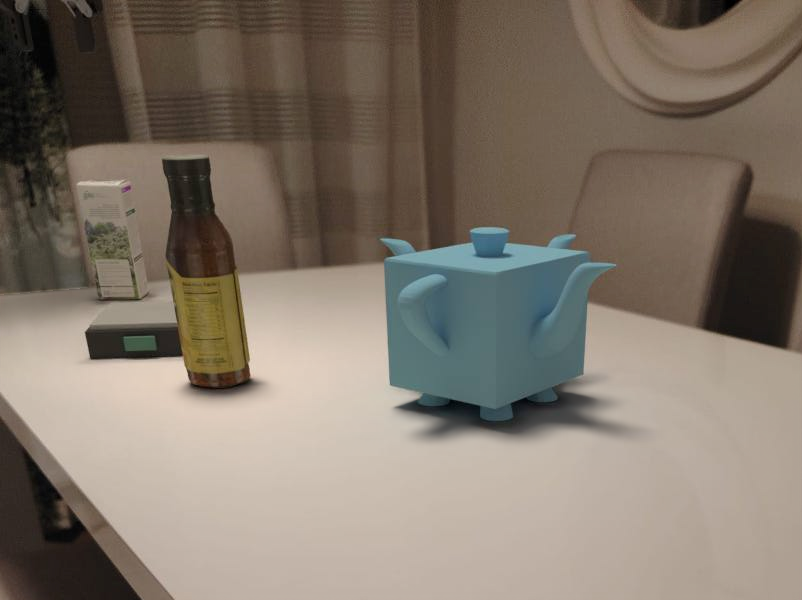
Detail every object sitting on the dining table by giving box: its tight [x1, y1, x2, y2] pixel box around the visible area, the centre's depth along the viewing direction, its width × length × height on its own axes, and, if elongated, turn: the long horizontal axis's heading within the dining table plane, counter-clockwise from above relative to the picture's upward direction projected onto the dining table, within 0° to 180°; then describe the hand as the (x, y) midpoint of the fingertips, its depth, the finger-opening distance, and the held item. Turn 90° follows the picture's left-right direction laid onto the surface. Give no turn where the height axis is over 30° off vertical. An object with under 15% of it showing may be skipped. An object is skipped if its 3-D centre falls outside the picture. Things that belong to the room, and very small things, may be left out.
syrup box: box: [75, 179, 150, 300], centre depth 126 cm, size 6×6×14 cm
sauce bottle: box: [161, 153, 251, 389], centre depth 87 cm, size 6×6×20 cm
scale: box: [84, 300, 183, 359], centre depth 105 cm, size 11×14×3 cm
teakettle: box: [379, 226, 618, 422], centre depth 84 cm, size 19×19×15 cm
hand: (57, 51), depth 118 cm, fingers open, 8 cm apart
